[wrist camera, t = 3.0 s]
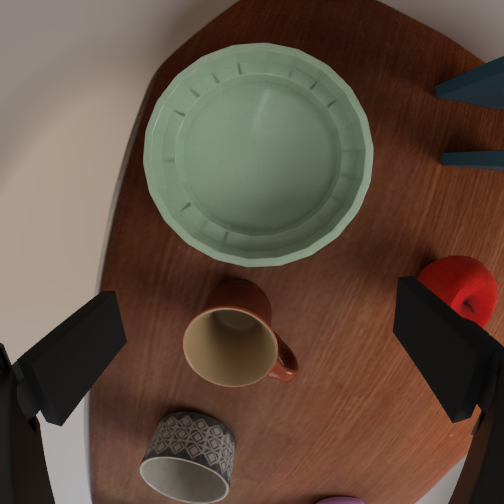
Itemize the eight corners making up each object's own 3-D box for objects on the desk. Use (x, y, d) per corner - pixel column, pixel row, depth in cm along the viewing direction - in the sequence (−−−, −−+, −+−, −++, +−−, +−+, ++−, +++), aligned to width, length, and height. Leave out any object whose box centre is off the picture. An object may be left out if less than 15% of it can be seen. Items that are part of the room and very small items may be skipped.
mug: (190, 312, 38) (166, 357, 28) (228, 255, 36) (211, 287, 26) (271, 360, 39) (270, 414, 29) (313, 310, 37) (326, 357, 27)
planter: (210, 465, 45) (200, 510, 35) (147, 432, 44) (127, 476, 34) (252, 432, 42) (247, 484, 32) (181, 393, 41) (161, 444, 31)
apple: (439, 229, 33) (490, 250, 23) (467, 277, 35) (514, 308, 24) (389, 277, 35) (427, 314, 25) (421, 322, 36) (459, 365, 26)
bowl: (163, 78, 31) (140, 60, 24) (346, 66, 30) (362, 44, 23) (175, 252, 36) (154, 270, 29) (355, 244, 34) (374, 261, 28)
